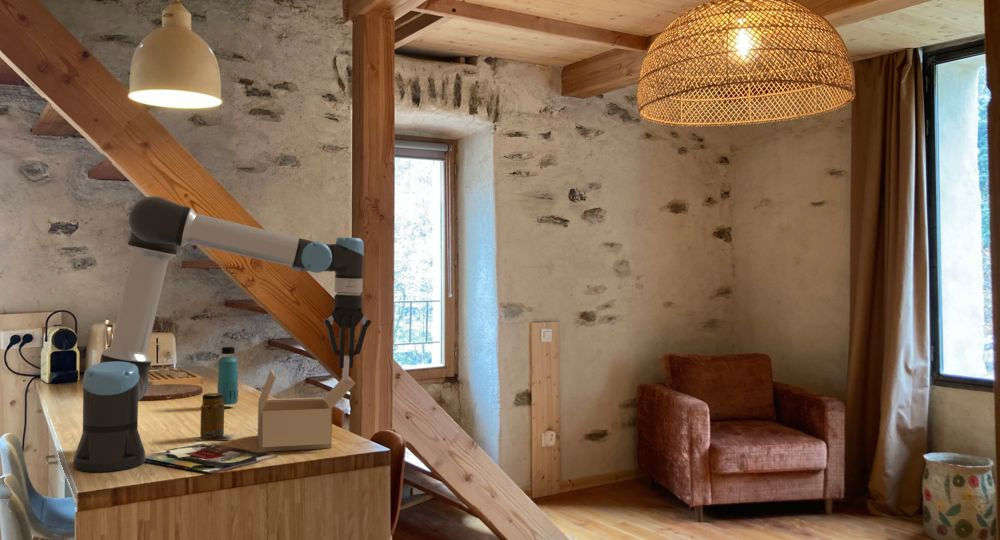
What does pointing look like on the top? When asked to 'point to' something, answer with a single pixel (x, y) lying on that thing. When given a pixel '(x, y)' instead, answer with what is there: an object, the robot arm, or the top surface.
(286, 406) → the carton
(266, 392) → the left flap
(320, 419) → the near flap
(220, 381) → the beverage bottle
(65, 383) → the top surface
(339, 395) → the right flap
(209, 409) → the condiment
